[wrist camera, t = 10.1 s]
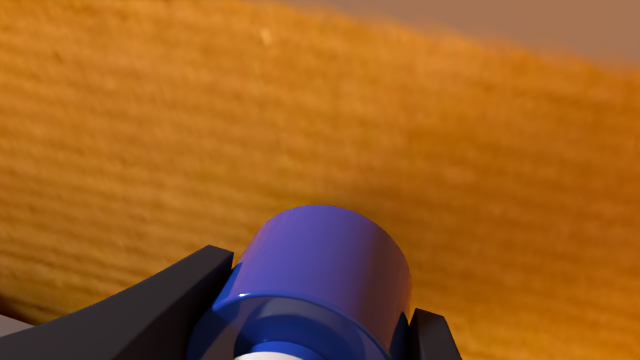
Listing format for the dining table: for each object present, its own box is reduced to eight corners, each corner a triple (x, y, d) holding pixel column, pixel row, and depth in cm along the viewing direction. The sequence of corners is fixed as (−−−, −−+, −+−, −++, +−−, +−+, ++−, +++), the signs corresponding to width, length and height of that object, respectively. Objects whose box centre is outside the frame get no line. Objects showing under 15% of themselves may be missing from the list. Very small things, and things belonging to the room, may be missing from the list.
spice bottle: (422, 345, 13) (416, 532, 9) (267, 348, 14) (194, 516, 10) (397, 194, 11) (375, 330, 7) (227, 212, 12) (120, 338, 8)
